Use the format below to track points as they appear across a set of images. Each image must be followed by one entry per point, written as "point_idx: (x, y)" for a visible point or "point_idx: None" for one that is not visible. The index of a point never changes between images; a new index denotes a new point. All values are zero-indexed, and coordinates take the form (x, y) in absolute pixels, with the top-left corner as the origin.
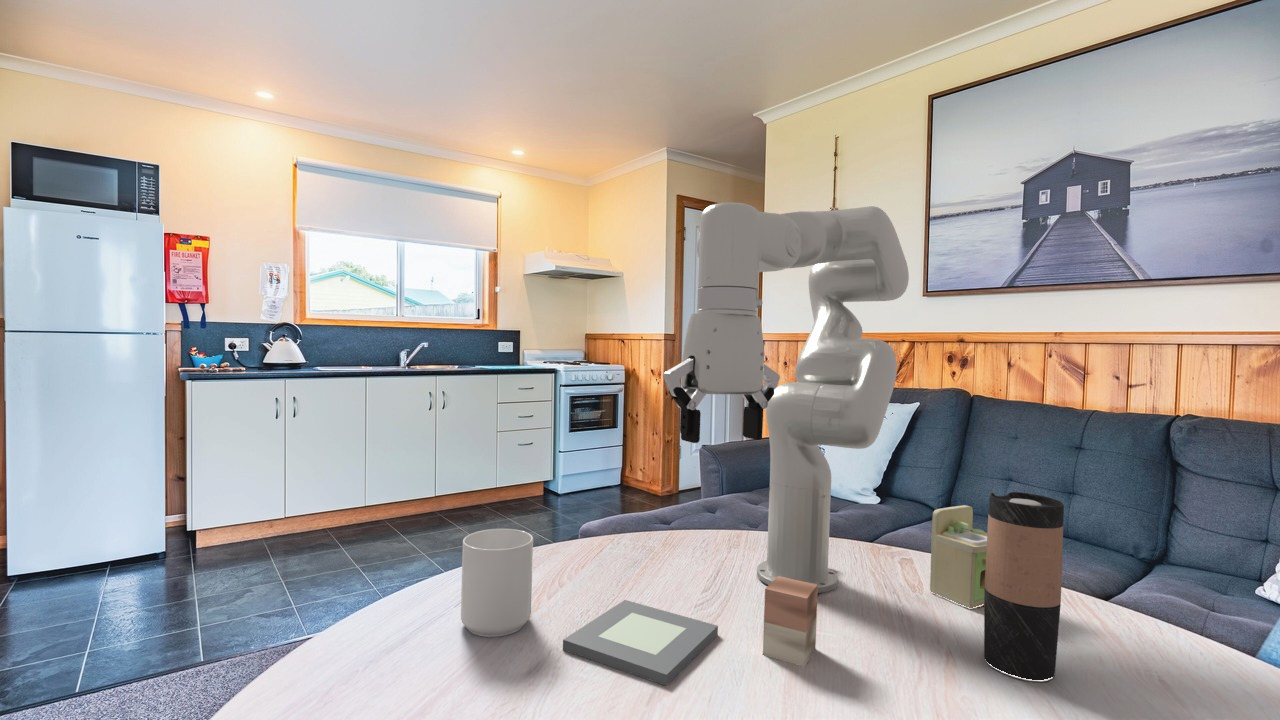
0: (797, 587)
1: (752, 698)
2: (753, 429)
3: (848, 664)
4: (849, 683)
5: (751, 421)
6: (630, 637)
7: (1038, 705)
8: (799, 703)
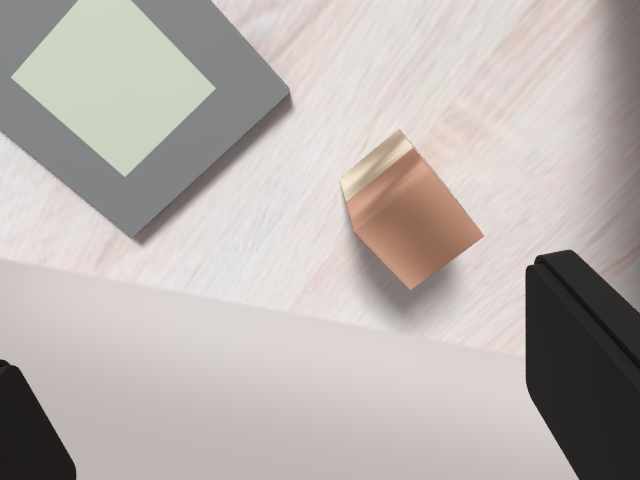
0: (429, 240)
1: (258, 283)
2: (554, 402)
3: None
4: None
5: (586, 426)
6: (83, 99)
7: None
8: (317, 306)
